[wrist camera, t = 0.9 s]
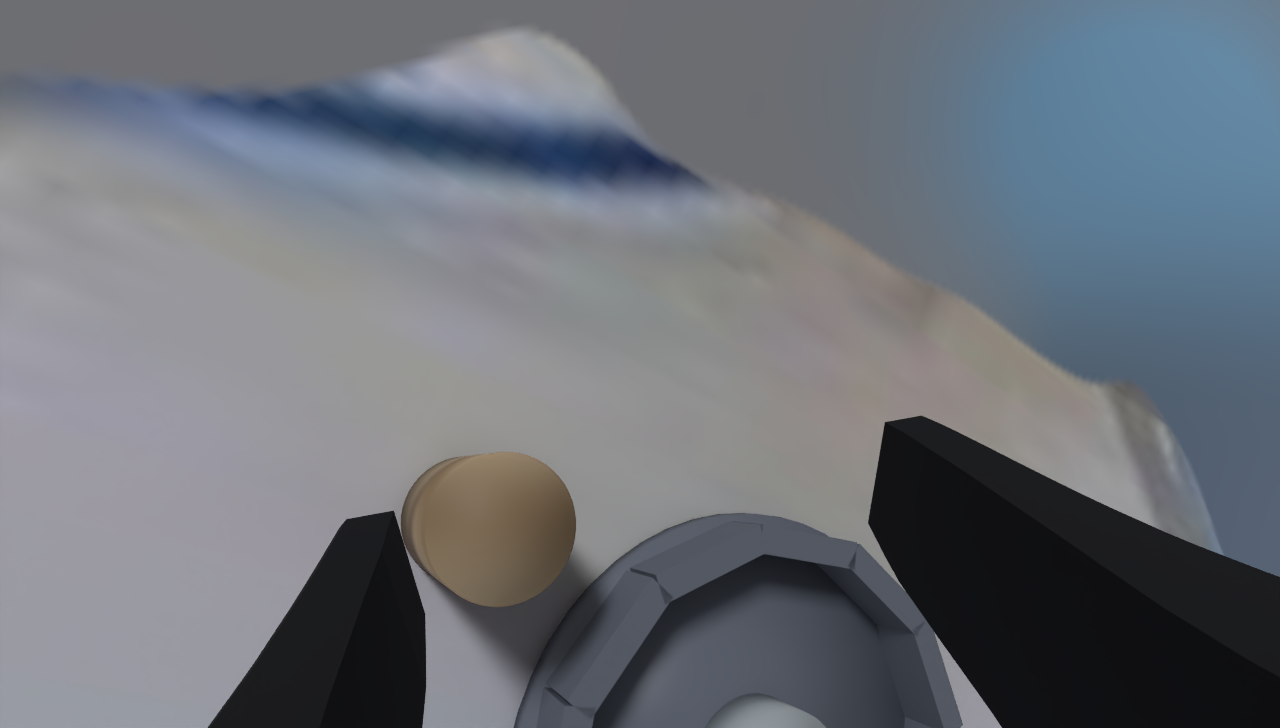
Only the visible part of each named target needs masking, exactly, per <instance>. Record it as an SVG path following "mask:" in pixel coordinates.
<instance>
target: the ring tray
mask: <svg viewBox="0 0 1280 728" xmlns="http://www.w3.org/2000/svg"><path fill="white" fill-rule="evenodd" d="M962 725H963V723H962V720H961V717H960V714H959V711H958V707H957V704H956V701H955V698H954V695H953V691H952V688H951V685H950V682H949V679H948V676H947V672H946V669H945V666H944V663H943V660H942V656H941V653H940V650H939V647H938V644H937V641H936V637H935V634H934V631H933V629H932V628H931V627H930V625H929V624H928V622H927V621H926V619H925V618H924V617H923V615H922V614H921V612H920V611H919V609H918V608H917V607H916V605H915V604H914V602H913V601H912V599H911V598H910V597H909V595H908V594H907V593H906V592H905V591H904V590H903V589H902V588H901V587H900V586H899V585H898V583H897V582H896V581H895V580H894V579H893V578H892V577H891V576H890V575H889V574H888V573H887V572H886V571H885V570H884V569H883V568H882V567H881V566H880V565H879V564H878V563H877V561H876V560H875V559H874V558H873V557H872V556H871V555H870V554H869V553H868V552H867V551H866V550H865V549H864V548H863V547H862V546H861V545H860V544H857V542H852V541H847V540H841V539H836V538H831V537H828V536H827V535H825V534H824V533H822V532H819V531H817V530H815V529H813V528H811V527H809V526H807V525H804V524H802V523H799V522H795V521H792V520H788V519H785V518H781V517H775V516H767V515H758V514H748V513H734V514H717V515H712V516H707V517H702V518H697V519H692V520H689V521H687V522H684V523H681V524H678V525H676V526H673V527H670V528H668V529H665V530H663V531H662V532H660V533H658V534H656V535H654V536H652V537H650V538H649V539H647V540H645V541H643V542H641V543H640V544H638V545H637V546H635V547H634V548H633V549H631V550H630V551H629V552H627V553H626V554H624V555H623V556H622V557H620V558H619V559H618V560H616V561H615V562H614V563H613V564H612V565H611V566H610V567H609V568H608V569H606V570H605V571H604V572H603V573H602V574H601V575H600V576H599V577H598V578H597V579H596V580H595V581H594V582H593V583H592V584H591V585H590V586H589V587H588V588H587V590H586V591H585V592H584V593H583V594H582V596H581V597H580V598H579V599H578V600H577V602H576V603H575V604H574V605H573V606H572V608H571V609H570V610H569V611H568V613H567V614H566V616H565V617H564V619H563V620H562V622H561V623H560V625H559V627H558V628H557V630H556V631H555V633H554V634H553V636H552V637H551V639H550V640H549V642H548V644H547V646H546V648H545V650H544V652H543V654H542V656H541V658H540V660H539V662H538V664H537V666H536V668H535V670H534V672H533V674H532V676H531V678H530V681H529V683H528V686H527V689H526V692H525V694H524V697H523V700H522V702H521V705H520V708H519V710H518V713H517V717H516V721H515V725H514V728H960V727H961V726H962Z"/></svg>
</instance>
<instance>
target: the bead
mask: <svg viewBox="0 0 1280 728" xmlns="http://www.w3.org/2000/svg"><path fill="white" fill-rule="evenodd" d="M401 531H402V536H403V541H404V543H405V546H406V548H407V550H408V552H409V554H410V556H411V557H412V558H413V560H414V561H415V562H416V563H417V564H418V565H419V566H420V567H421V568H422V569H424V570H425V571H426V572H428V573H429V574H430V575H432V576H433V577H434V578H436V579H437V580H438V581H440V582H441V583H442V584H444V585H445V586H446V587H448V588H449V589H450V590H451V591H453V592H454V593H456V594H457V595H458V596H460V597H461V598H463V599H465V600H467V601H469V602H472V603H475V604H478V605H482V606H487V607H506V606H512V605H516V604H519V603H522V602H525V601H527V600H529V599H531V598H533V597H535V596H537V595H538V594H539V593H541V592H542V591H544V590H545V589H546V588H547V587H548V586H549V585H550V584H552V582H553V581H554V580H555V579H556V578H557V577H558V576H559V574H560V573H561V571H562V570H563V568H564V567H565V565H566V563H567V561H568V559H569V556H570V554H571V551H572V548H573V544H574V540H575V532H576V517H575V510H574V506H573V501H572V499H571V496H570V494H569V491H568V490H567V488H566V486H565V484H564V483H563V481H562V480H561V479H560V477H559V476H558V475H557V474H556V473H555V472H554V471H553V470H552V469H551V468H550V467H548V466H547V465H546V464H544V463H543V462H541V461H539V460H538V459H535V458H533V457H531V456H528V455H524V454H520V453H513V452H499V453H490V454H481V455H473V456H464V457H456V458H451V459H448V460H445V461H442V462H440V463H438V464H436V465H434V466H432V467H431V468H430V469H428V470H427V471H426V472H424V473H423V474H422V475H421V476H420V477H419V478H418V479H417V481H416V482H415V483H414V484H413V486H412V487H411V489H410V491H409V492H408V495H407V497H406V499H405V502H404V505H403V509H402V514H401Z"/></svg>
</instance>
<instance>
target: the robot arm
mask: <svg viewBox="0 0 1280 728" xmlns="http://www.w3.org/2000/svg"><path fill="white" fill-rule="evenodd" d="M868 524H869V526H870V528H871V530H872V532H873V534H874V535H875V537H876V539H877V541H878V543H879V545H880V547H881V549H882V551H883V553H884V555H885V557H886V559H887V561H888V562H889V564H890V566H891V568H892V570H893V571H894V573H895V575H896V577H897V579H898V580H899V582H900V583H901V585H902V586H903V588H904V589H905V591H906V592H907V594H908V595H909V597H910V598H911V599H912V601H913V602H914V604H915V605H916V607H917V608H918V609H919V611H920V612H921V614H922V615H923V617H924V618H925V619H926V621H927V622H928V624H929V625H930V627H931V628H932V629H933V631H934V632H935V634H936V635H937V636H938V638H939V639H940V641H941V642H942V643H943V645H944V646H945V648H946V649H947V650H948V652H949V653H950V654H951V656H952V657H953V659H954V660H955V661H956V663H957V664H958V666H959V667H960V668H961V670H962V671H963V673H964V674H965V675H966V677H967V678H968V680H969V681H970V682H971V684H972V685H973V687H974V688H975V689H976V691H977V692H978V694H979V695H980V696H981V698H982V699H983V701H984V702H985V703H986V705H987V706H988V708H989V709H990V710H991V712H992V713H993V715H994V716H995V718H996V719H997V721H998V722H999V724H1000V725H1001V727H1002V728H1280V577H1278V576H1275V575H1273V574H1270V573H1267V572H1264V571H1262V570H1259V569H1257V568H1254V567H1251V566H1249V565H1246V564H1244V563H1241V562H1238V561H1236V560H1233V559H1231V558H1228V557H1225V556H1223V555H1220V554H1218V553H1215V552H1212V551H1210V550H1207V549H1205V548H1202V547H1199V546H1197V545H1195V544H1192V543H1190V542H1187V541H1185V540H1183V539H1180V538H1178V537H1175V536H1173V535H1171V534H1168V533H1166V532H1164V531H1161V530H1159V529H1157V528H1155V527H1152V526H1150V525H1148V524H1146V523H1143V522H1141V521H1139V520H1137V519H1134V518H1132V517H1130V516H1128V515H1126V514H1123V513H1121V512H1119V511H1117V510H1114V509H1112V508H1110V507H1108V506H1106V505H1104V504H1101V503H1099V502H1097V501H1095V500H1093V499H1091V498H1089V497H1087V496H1085V495H1082V494H1080V493H1078V492H1076V491H1074V490H1072V489H1070V488H1068V487H1066V486H1064V485H1062V484H1060V483H1058V482H1056V481H1054V480H1052V479H1050V478H1048V477H1046V476H1044V475H1042V474H1040V473H1038V472H1036V471H1034V470H1032V469H1030V468H1028V467H1026V466H1024V465H1022V464H1020V463H1018V462H1016V461H1014V460H1012V459H1010V458H1008V457H1006V456H1004V455H1002V454H1000V453H998V452H996V451H994V450H992V449H990V448H988V447H986V446H984V445H982V444H980V443H978V442H976V441H974V440H972V439H970V438H968V437H966V436H964V435H962V434H960V433H958V432H956V431H954V430H952V429H950V428H948V427H946V426H944V425H942V424H939V423H937V422H935V421H933V420H930V419H928V418H926V417H923V416H917V417H912V418H906V419H901V420H895V421H890V422H885V426H884V432H883V437H882V443H881V449H880V455H879V461H878V467H877V473H876V479H875V485H874V491H873V497H872V503H871V509H870V515H869V521H868ZM425 693H426V635H425V612H424V609H423V606H422V602H421V599H420V596H419V593H418V589H417V586H416V583H415V579H414V576H413V573H412V569H411V566H410V563H409V559H408V556H407V553H406V550H405V546H404V543H403V540H402V536H401V533H400V530H399V526H398V523H397V520H396V516H395V513H394V511H390V512H384V513H379V514H373V515H368V516H362V517H357V518H351V519H346V521H345V522H344V523H343V524H342V525H341V527H340V528H339V530H338V531H337V533H336V535H335V536H334V538H333V540H332V541H331V543H330V545H329V546H328V548H327V550H326V551H325V553H324V555H323V556H322V558H321V560H320V561H319V563H318V565H317V566H316V568H315V570H314V571H313V573H312V574H311V576H310V578H309V579H308V581H307V583H306V584H305V586H304V587H303V589H302V591H301V592H300V594H299V595H298V597H297V599H296V600H295V602H294V603H293V605H292V607H291V608H290V610H289V611H288V613H287V614H286V616H285V617H284V619H283V620H282V622H281V623H280V625H279V626H278V628H277V629H276V631H275V632H274V634H273V635H272V637H271V638H270V640H269V641H268V643H267V644H266V646H265V647H264V649H263V650H262V652H261V654H260V655H259V657H258V658H257V660H256V661H255V663H254V664H253V665H252V667H251V668H250V670H249V671H248V673H247V674H246V676H245V677H244V678H243V680H242V681H241V682H240V684H239V685H238V687H237V688H236V689H235V691H234V692H233V693H232V695H231V696H230V698H229V699H228V700H227V702H226V703H225V705H224V706H223V707H222V709H221V710H220V711H219V713H218V714H217V716H216V717H215V718H214V720H213V721H212V722H211V724H210V725H209V727H208V728H422V724H423V714H424V704H425Z"/></svg>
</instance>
